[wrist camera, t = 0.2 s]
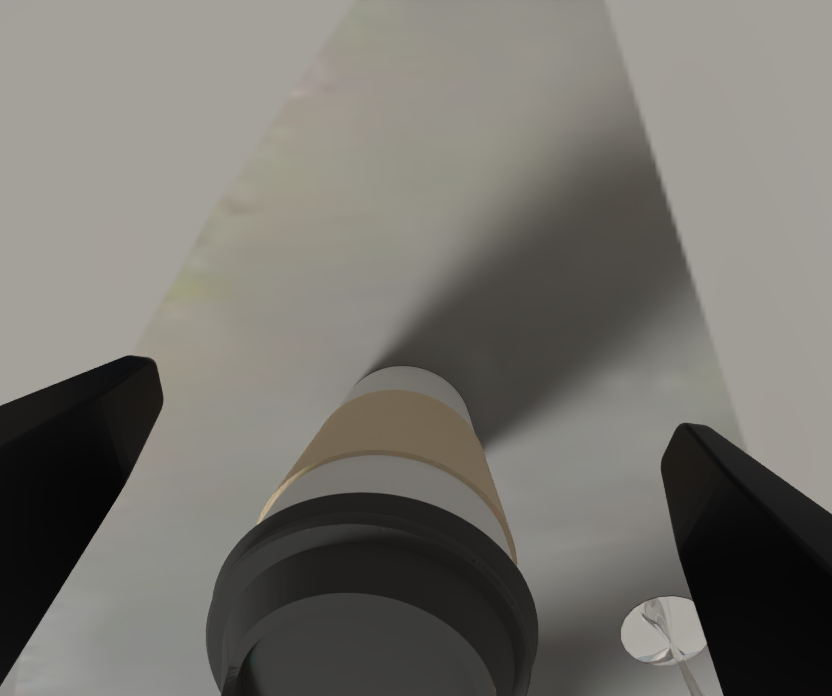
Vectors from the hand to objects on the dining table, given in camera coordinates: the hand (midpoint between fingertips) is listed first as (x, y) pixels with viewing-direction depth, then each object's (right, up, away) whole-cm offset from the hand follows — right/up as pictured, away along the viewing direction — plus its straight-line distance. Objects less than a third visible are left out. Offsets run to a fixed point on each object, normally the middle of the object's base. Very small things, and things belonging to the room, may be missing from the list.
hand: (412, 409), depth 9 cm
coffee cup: (0, -3, +17) cm, 18 cm away
